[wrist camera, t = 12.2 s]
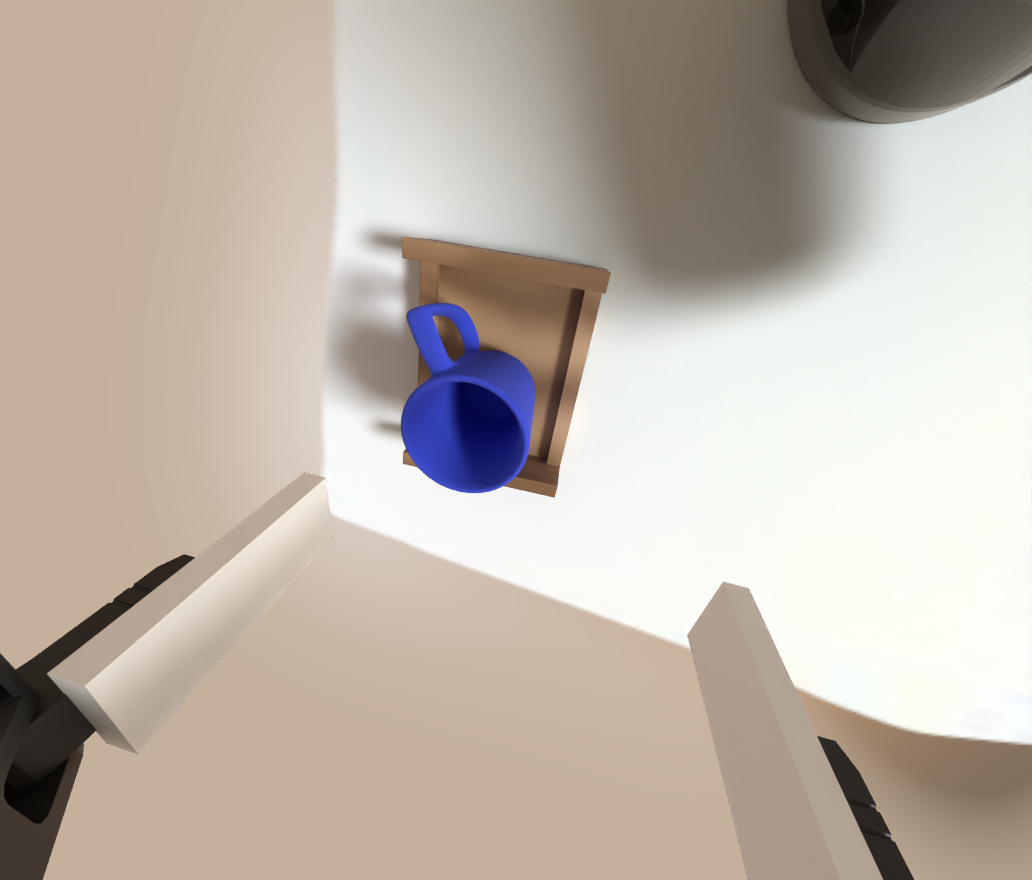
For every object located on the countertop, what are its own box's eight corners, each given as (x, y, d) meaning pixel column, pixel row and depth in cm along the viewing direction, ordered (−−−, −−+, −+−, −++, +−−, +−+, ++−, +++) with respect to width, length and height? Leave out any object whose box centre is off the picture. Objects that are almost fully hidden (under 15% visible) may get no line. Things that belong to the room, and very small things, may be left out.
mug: (511, 273, 27) (475, 283, 18) (556, 418, 32) (545, 481, 23) (416, 309, 29) (344, 333, 20) (471, 438, 34) (432, 503, 25)
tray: (431, 239, 28) (402, 237, 23) (606, 269, 27) (610, 272, 22) (425, 437, 36) (403, 463, 32) (558, 466, 35) (554, 497, 31)
